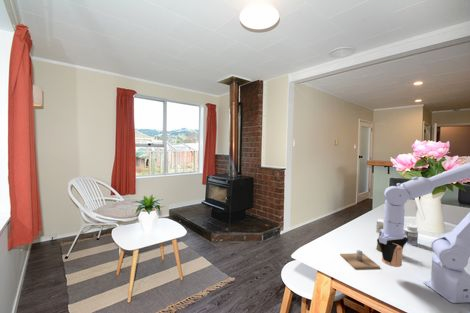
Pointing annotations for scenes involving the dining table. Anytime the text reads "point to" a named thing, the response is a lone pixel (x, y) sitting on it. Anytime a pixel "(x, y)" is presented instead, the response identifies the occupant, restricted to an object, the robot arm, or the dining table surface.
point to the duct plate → (361, 263)
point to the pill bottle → (411, 234)
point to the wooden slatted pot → (395, 257)
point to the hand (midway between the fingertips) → (391, 258)
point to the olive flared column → (379, 236)
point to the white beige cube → (379, 222)
